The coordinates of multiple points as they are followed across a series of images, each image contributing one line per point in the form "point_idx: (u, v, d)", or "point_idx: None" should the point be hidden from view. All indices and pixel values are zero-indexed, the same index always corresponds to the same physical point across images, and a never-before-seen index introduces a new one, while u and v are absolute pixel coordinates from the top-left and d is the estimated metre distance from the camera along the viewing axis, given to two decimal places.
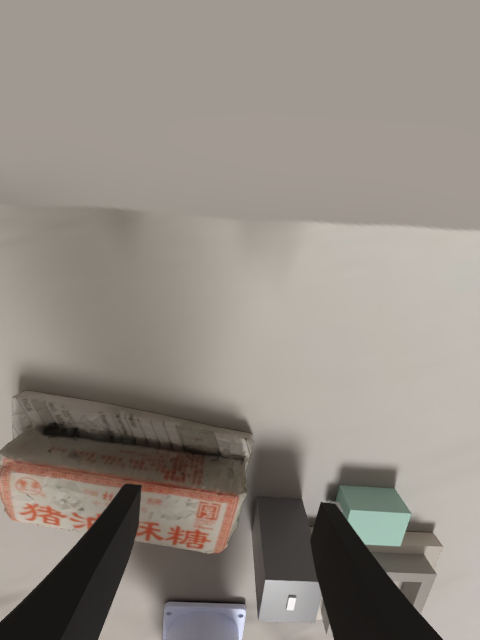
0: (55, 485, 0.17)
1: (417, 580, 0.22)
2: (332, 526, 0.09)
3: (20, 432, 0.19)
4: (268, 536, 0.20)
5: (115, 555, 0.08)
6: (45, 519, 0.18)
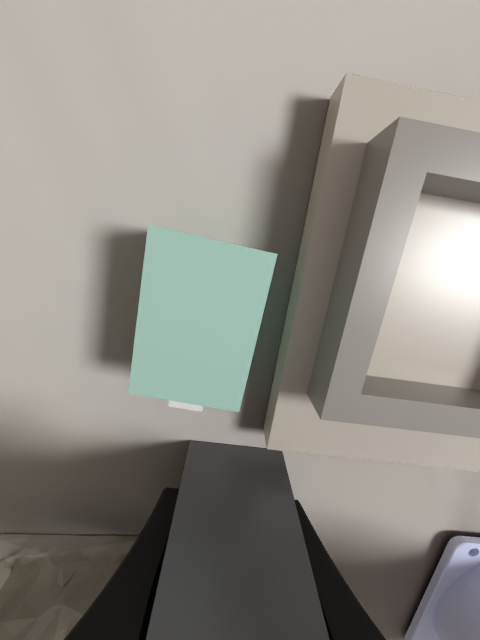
0: None
1: (413, 191, 0.06)
2: None
3: None
4: None
5: None
6: None
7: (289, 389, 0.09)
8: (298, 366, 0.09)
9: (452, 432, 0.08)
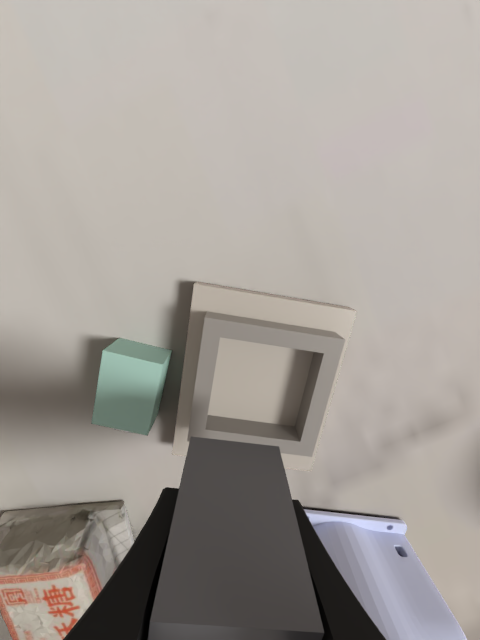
0: None
1: (215, 344, 0.15)
2: None
3: None
4: None
5: None
6: None
7: (181, 423, 0.18)
8: (184, 411, 0.17)
9: None
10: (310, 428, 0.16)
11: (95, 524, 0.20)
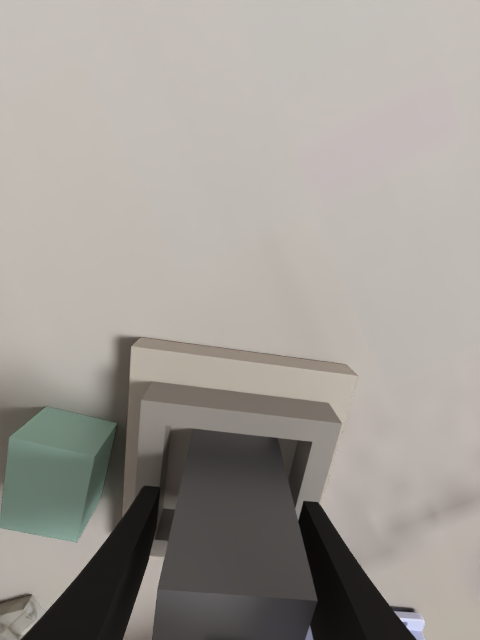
0: None
1: (159, 434, 0.10)
2: (313, 524, 0.09)
3: None
4: None
5: (138, 557, 0.08)
6: None
7: None
8: None
9: None
10: None
11: None
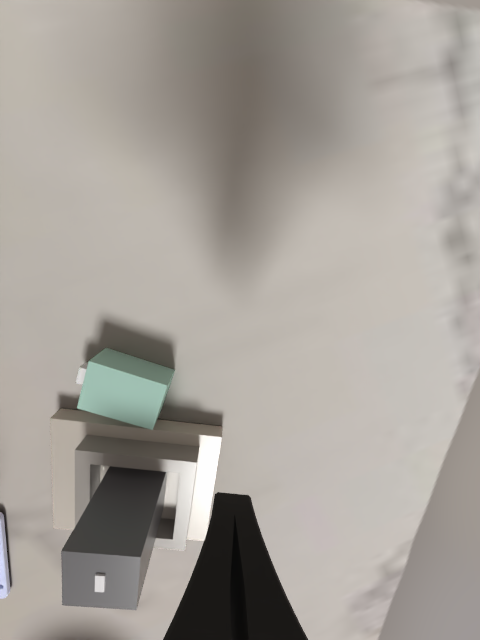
0: None
1: (174, 470, 0.18)
2: None
3: None
4: (98, 502, 0.16)
5: None
6: None
7: (88, 426, 0.18)
8: (101, 429, 0.19)
9: (76, 501, 0.18)
10: None
11: None
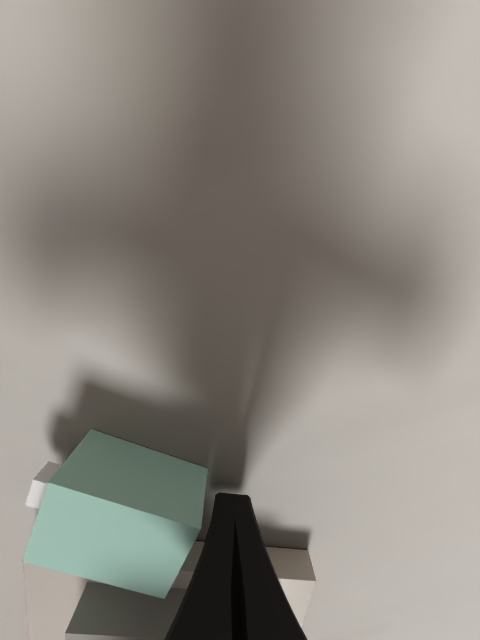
0: None
1: None
2: None
3: None
4: None
5: None
6: None
7: None
8: None
9: None
10: None
11: None
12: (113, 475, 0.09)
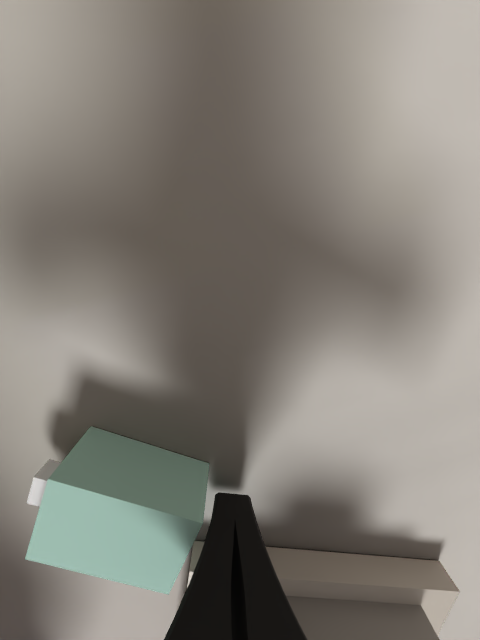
0: None
1: None
2: None
3: None
4: None
5: None
6: None
7: None
8: None
9: None
10: None
11: None
12: (113, 471, 0.09)
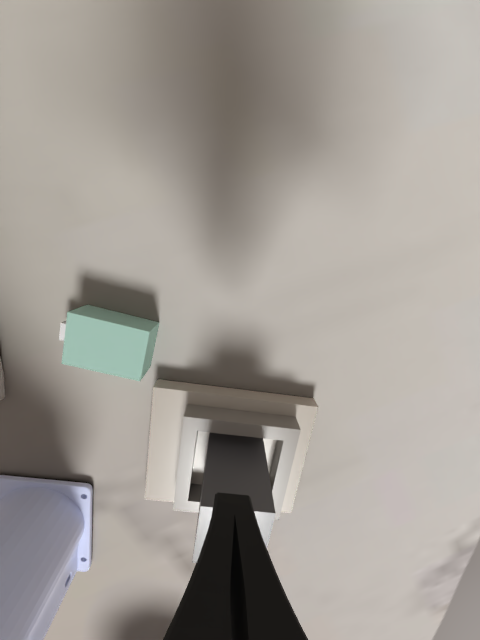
0: None
1: (277, 437, 0.18)
2: None
3: None
4: (214, 466, 0.16)
5: None
6: None
7: (189, 395, 0.19)
8: (201, 399, 0.19)
9: (179, 468, 0.18)
10: None
11: None
12: (102, 315, 0.17)
